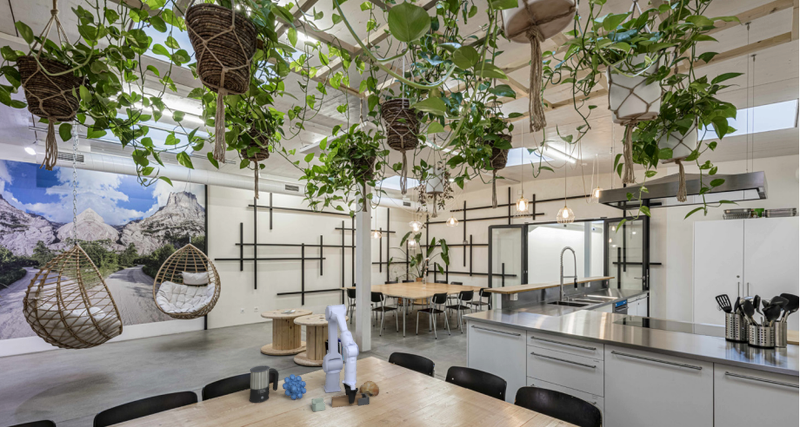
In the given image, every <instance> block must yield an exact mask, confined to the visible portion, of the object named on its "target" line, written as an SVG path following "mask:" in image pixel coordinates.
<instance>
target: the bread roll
mask: <svg viewBox="0 0 800 427" xmlns="http://www.w3.org/2000/svg"><path fill="white" fill-rule="evenodd" d="M358 392H359V393H367V395H368V396H369V398H373V397H377V396H378V395H380V387H379V386H378V384H377V383H376V382H374V381H371V380H367V381H365V382H364V383H363V384H362V385H361V386H360V387H359V388H358ZM359 393H358V394H359Z"/></svg>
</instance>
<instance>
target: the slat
mask: <svg viewBox="0 0 800 427" xmlns="http://www.w3.org/2000/svg"><path fill="white" fill-rule="evenodd" d="M358 398H362V395H361V393H356V396H355V401H354V403H353V404H349V399H348V395H346V394H343V395H341V394H340V395H334V396H331V404H330V405H331V407H332V409H333V408H335V409H336V408H341V407H342V408H343V407H351V406H358Z"/></svg>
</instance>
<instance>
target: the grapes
mask: <svg viewBox="0 0 800 427" xmlns="http://www.w3.org/2000/svg"><path fill="white" fill-rule="evenodd" d="M283 379H284V383H282V389H284V390H285V391H284V394H285V396H287V397H290V399H291V400H296V399H298V400H299V399H302V398H303V395H305V394H306V393H307V388H305V387H306V386H307V382H306V381H305V380H302V377H301V375H295V374H293V373H292V374H290V375H289V376H285V377H284V378H283Z"/></svg>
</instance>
